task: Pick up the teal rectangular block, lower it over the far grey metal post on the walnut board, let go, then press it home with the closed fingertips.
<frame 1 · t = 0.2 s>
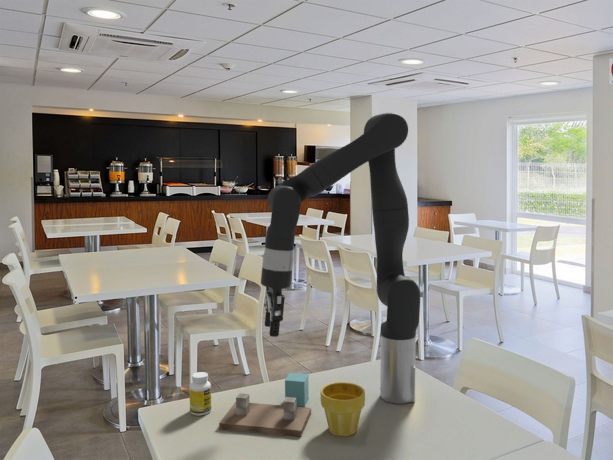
hand: (271, 331, 134), 21 cm above the table, tool pointing down, fingers open, 8 cm apart
plant pot: (342, 430, 128), on the table
supplement bottle: (200, 412, 138), on the table
teal rectangular block: (297, 401, 143), on the table
post board: (266, 421, 132), on the table
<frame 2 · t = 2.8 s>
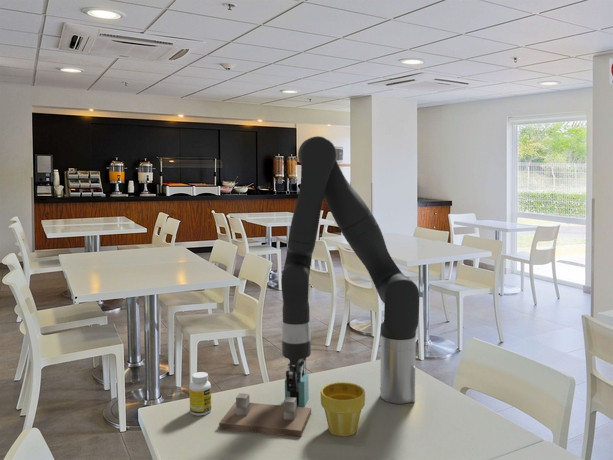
hand: (296, 399, 143), 1 cm above the table, tool pointing down, fingers closed on teal rectangular block, 5 cm apart
teal rectangular block: (297, 401, 143), on the table, touching gripper
everything else where it was.
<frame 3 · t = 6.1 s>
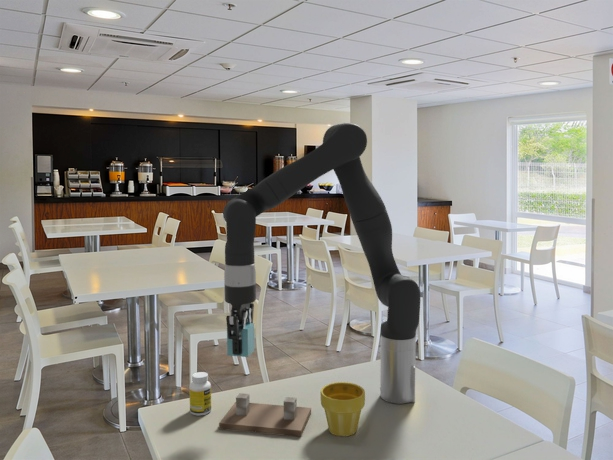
hand: (241, 350, 132), 18 cm above the table, tool pointing down, fingers closed on teal rectangular block, 5 cm apart
teal rectangular block: (241, 352, 132), point 17 cm above the table, touching gripper
everything else where it was.
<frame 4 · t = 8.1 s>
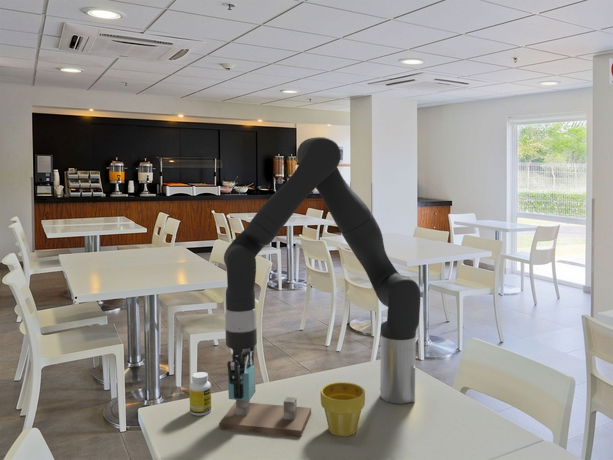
hand: (242, 393, 133), 7 cm above the table, tool pointing down, fingers closed on teal rectangular block, 5 cm apart
teal rectangular block: (242, 395, 133), point 6 cm above the table, touching gripper
everything else where it was.
when the fingers open (3 cm above the table, at t = 9.5 s): teal rectangular block stays where it is, resting on post board.
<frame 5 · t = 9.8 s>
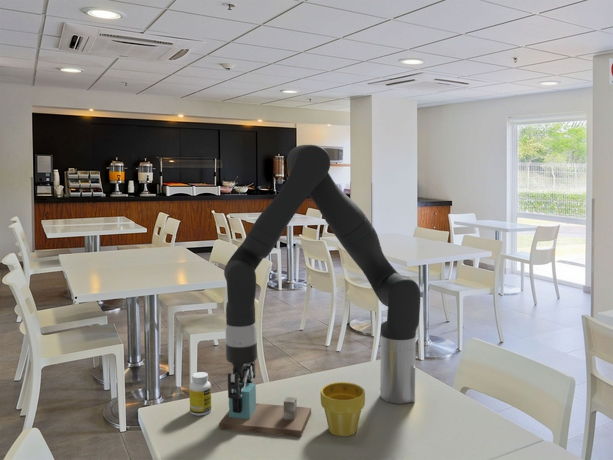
hand: (242, 404, 133), 4 cm above the table, tool pointing down, fingers open, 7 cm apart
teal rectangular block: (242, 413, 133), point 1 cm above the table, touching post board
everything else where it was.
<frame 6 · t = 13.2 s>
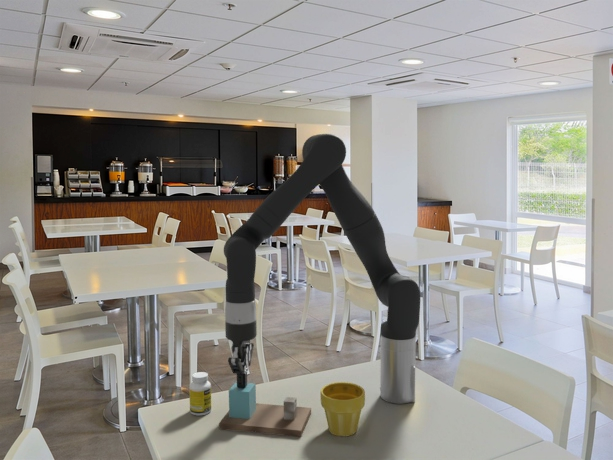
hand: (242, 386, 133), 8 cm above the table, tool pointing down, fingers closed
teal rectangular block: (242, 413, 133), point 1 cm above the table, touching gripper, post board
everything else where it was.
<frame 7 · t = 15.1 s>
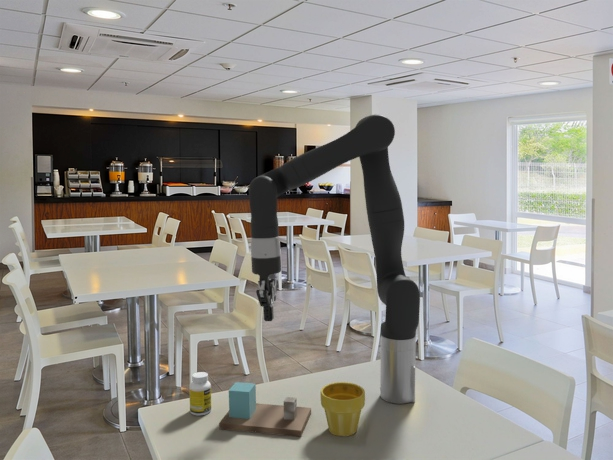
hand: (269, 320, 140), 23 cm above the table, tool pointing down, fingers closed
teal rectangular block: (242, 413, 133), point 1 cm above the table, touching post board
everything else where it was.
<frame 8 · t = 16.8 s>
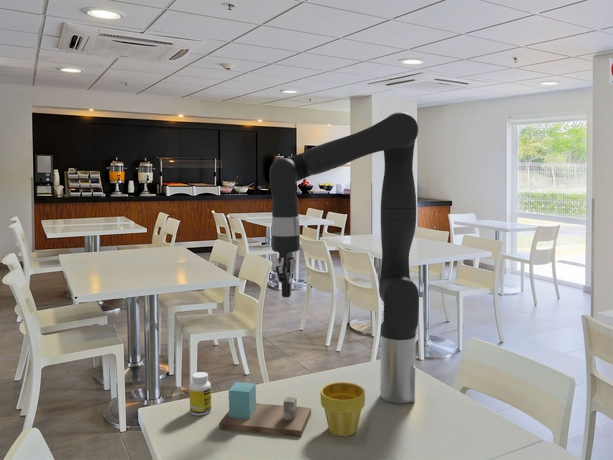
hand: (286, 296, 147), 27 cm above the table, tool pointing down, fingers closed
nothing on the table moved.
at the end: teal rectangular block 0.1 cm from the target spot on the post board, point 1.5 cm above the post board's base; teal rectangular block tilted 0°; the gripper is holding nothing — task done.
